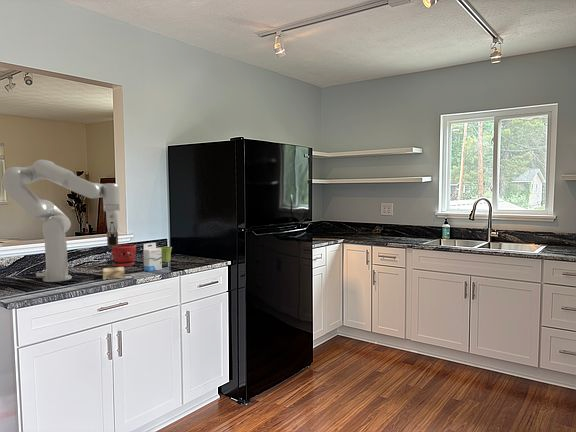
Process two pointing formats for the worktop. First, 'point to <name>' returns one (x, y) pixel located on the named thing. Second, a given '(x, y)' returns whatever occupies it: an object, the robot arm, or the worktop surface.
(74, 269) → the worktop surface
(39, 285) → the worktop surface
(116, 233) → the walnut block
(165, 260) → the plant pot
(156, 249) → the ink box
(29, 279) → the worktop surface
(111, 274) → the maple block
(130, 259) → the plant pot
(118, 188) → the robot arm
